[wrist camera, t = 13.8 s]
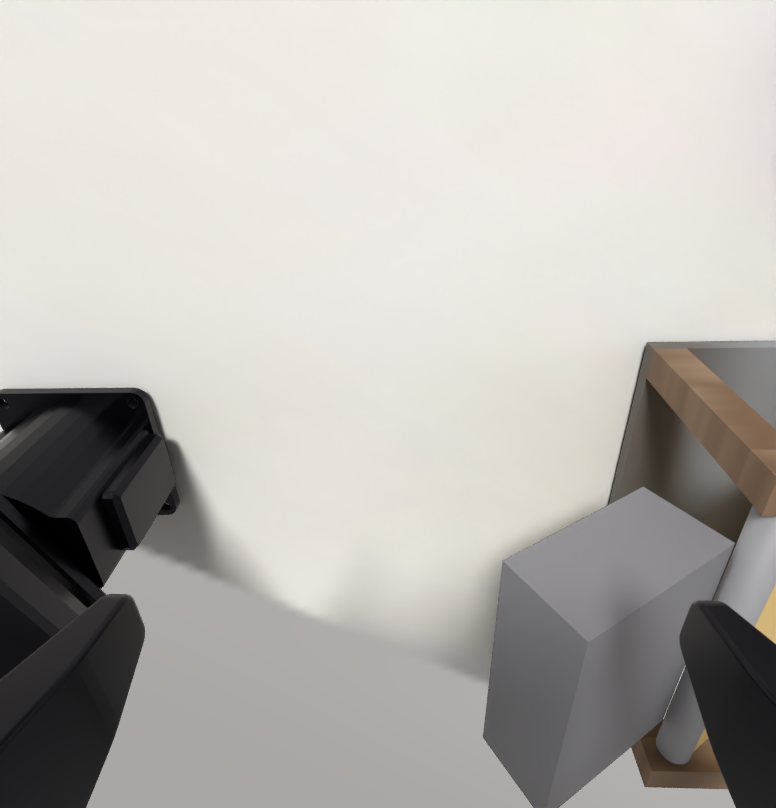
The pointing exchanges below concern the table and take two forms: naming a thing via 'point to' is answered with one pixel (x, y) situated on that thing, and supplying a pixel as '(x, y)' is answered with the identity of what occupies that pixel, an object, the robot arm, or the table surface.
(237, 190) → the table surface
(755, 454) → the frame
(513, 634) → the trapdoor
